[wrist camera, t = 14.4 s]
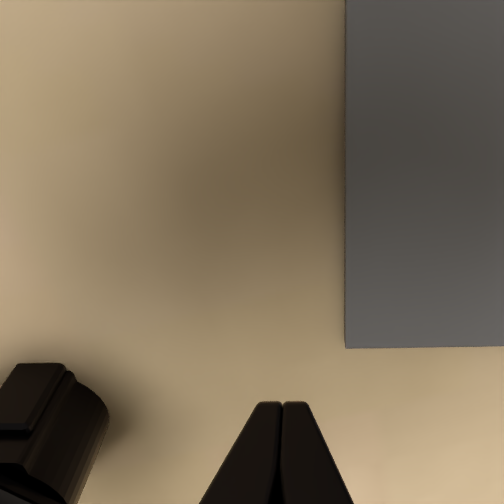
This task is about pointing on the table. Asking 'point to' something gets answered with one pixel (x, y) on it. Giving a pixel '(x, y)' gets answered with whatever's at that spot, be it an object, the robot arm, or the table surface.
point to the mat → (424, 173)
